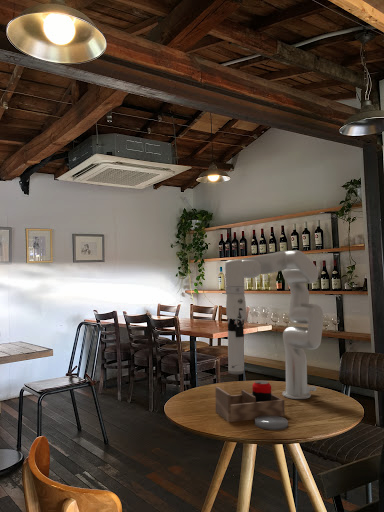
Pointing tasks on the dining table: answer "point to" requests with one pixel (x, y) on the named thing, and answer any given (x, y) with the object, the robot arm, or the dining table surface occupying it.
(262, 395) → the soda can
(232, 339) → the travel mug
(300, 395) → the robot arm
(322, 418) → the dining table surface
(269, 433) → the dining table surface
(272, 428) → the grey round plate
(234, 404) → the walnut rack
